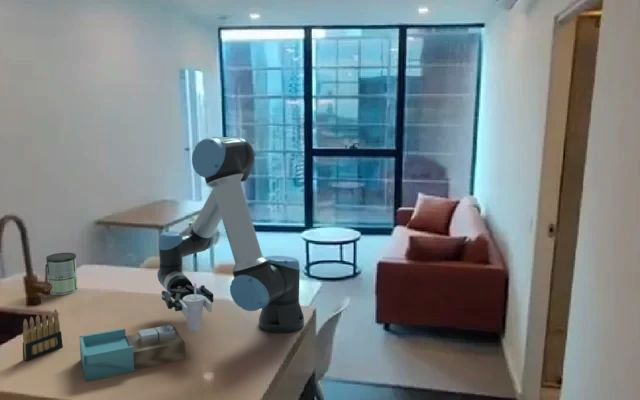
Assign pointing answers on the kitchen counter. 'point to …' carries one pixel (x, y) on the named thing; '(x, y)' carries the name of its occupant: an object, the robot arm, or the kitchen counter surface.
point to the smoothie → (194, 310)
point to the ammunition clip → (41, 336)
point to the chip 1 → (148, 336)
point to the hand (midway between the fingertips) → (198, 309)
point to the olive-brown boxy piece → (156, 351)
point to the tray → (105, 354)
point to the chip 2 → (165, 332)
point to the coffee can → (62, 273)
